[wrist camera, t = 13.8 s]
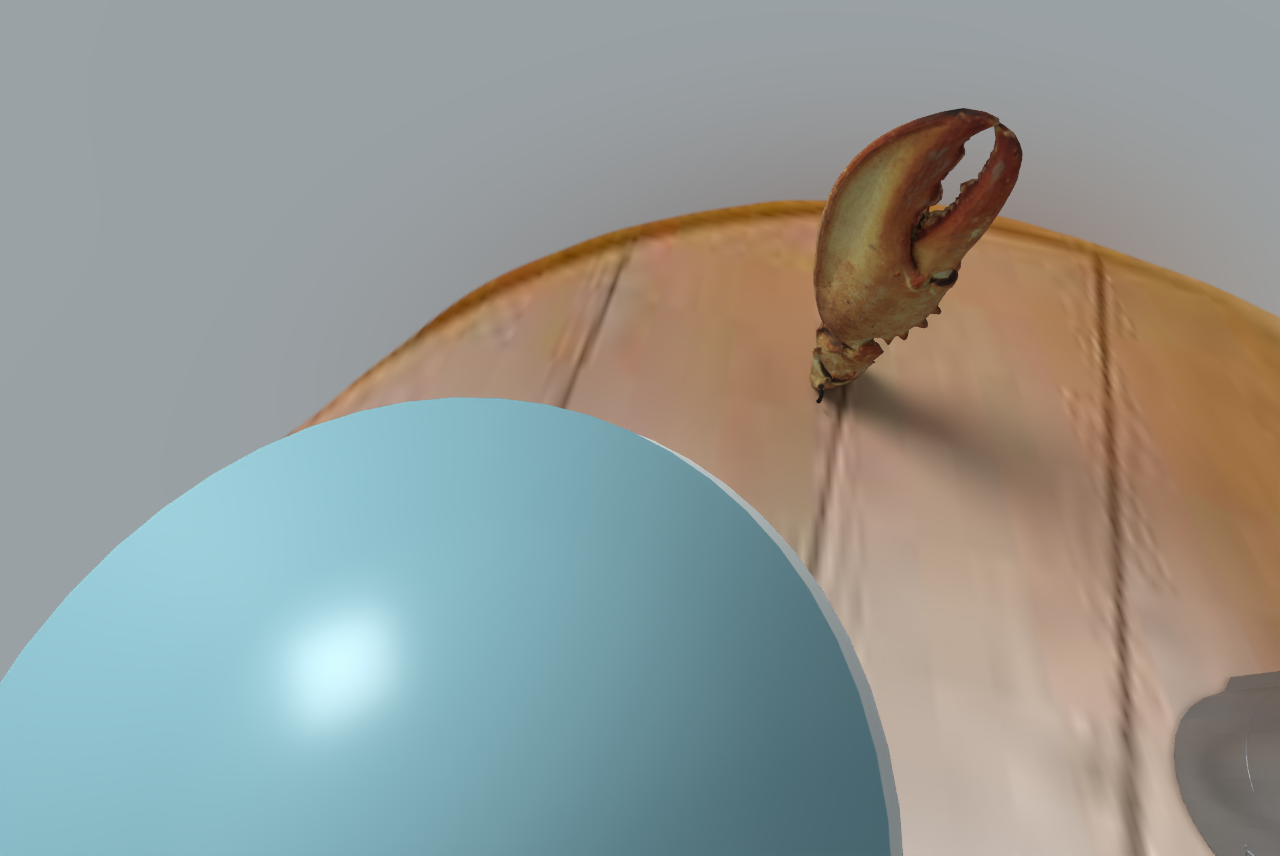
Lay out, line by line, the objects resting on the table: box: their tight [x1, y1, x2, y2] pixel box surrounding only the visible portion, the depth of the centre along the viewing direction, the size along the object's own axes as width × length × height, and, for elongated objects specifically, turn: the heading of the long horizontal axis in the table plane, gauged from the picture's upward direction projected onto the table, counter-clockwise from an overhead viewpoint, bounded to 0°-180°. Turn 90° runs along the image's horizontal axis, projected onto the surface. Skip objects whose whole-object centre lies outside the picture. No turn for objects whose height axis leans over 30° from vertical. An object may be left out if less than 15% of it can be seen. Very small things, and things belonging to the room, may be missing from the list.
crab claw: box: [810, 108, 1022, 403], centre depth 32 cm, size 7×5×20 cm
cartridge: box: [0, 398, 903, 856], centre depth 9 cm, size 5×5×14 cm
